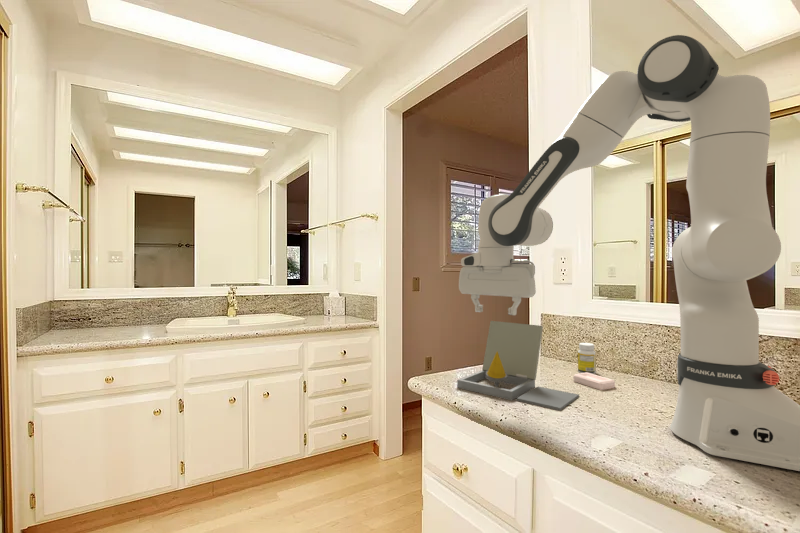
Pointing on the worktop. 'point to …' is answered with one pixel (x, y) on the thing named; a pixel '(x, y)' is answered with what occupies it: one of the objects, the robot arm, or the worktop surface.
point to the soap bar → (594, 381)
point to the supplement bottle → (586, 358)
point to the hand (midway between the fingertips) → (495, 313)
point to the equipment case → (509, 359)
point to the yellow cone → (496, 371)
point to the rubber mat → (548, 398)
